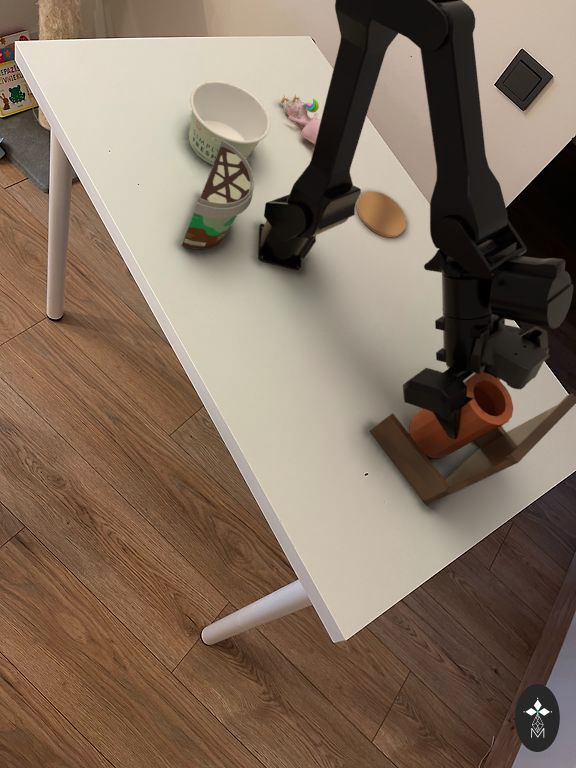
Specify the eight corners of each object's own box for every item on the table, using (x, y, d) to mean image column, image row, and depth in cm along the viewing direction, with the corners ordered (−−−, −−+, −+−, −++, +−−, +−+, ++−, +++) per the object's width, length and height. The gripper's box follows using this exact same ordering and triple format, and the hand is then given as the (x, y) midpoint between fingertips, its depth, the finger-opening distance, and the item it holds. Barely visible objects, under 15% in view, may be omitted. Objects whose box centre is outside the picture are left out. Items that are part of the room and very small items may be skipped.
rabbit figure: (269, 112, 101) (320, 168, 96) (279, 79, 96) (333, 135, 91) (298, 110, 104) (348, 163, 99) (308, 77, 100) (362, 131, 94)
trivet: (358, 228, 94) (360, 226, 94) (355, 187, 99) (356, 185, 98) (406, 243, 98) (408, 241, 97) (401, 202, 102) (403, 200, 101)
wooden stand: (369, 430, 78) (445, 372, 64) (432, 382, 86) (513, 322, 72) (426, 505, 76) (518, 463, 62) (486, 449, 84) (578, 400, 71)
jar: (412, 454, 78) (470, 419, 68) (407, 407, 81) (462, 367, 71) (455, 461, 80) (517, 428, 70) (448, 415, 83) (507, 377, 73)
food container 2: (221, 271, 80) (245, 222, 72) (178, 253, 79) (197, 201, 70) (242, 209, 87) (266, 158, 78) (202, 191, 85) (223, 137, 77)
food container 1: (165, 143, 86) (175, 107, 81) (201, 104, 93) (213, 67, 88) (236, 189, 88) (251, 155, 83) (267, 146, 95) (282, 113, 89)
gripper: (491, 359, 57) (488, 487, 64) (577, 292, 67) (566, 409, 75) (396, 335, 64) (403, 452, 72) (486, 278, 75) (484, 385, 82)
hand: (468, 424), depth 75 cm, fingers closed on jar, 7 cm apart
